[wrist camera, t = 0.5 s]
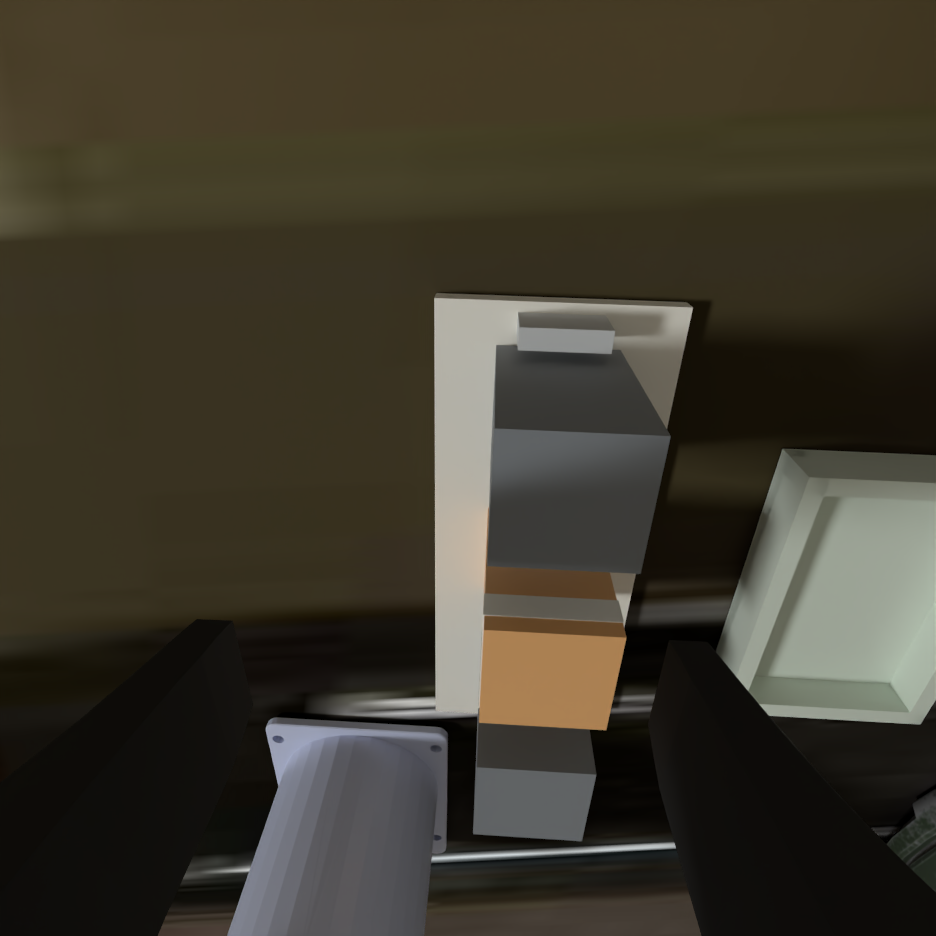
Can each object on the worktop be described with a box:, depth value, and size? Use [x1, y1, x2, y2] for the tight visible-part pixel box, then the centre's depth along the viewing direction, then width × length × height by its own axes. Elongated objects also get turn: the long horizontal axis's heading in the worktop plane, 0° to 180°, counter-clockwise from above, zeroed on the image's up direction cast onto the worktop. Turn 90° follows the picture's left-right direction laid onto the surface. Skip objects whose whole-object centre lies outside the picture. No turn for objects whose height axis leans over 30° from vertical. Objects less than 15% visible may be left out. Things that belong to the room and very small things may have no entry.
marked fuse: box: [478, 508, 626, 730], centre depth 17 cm, size 4×4×6 cm
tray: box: [716, 449, 936, 724], centre depth 20 cm, size 10×7×2 cm
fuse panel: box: [434, 293, 693, 841], centre depth 18 cm, size 17×7×6 cm, turn 178°
